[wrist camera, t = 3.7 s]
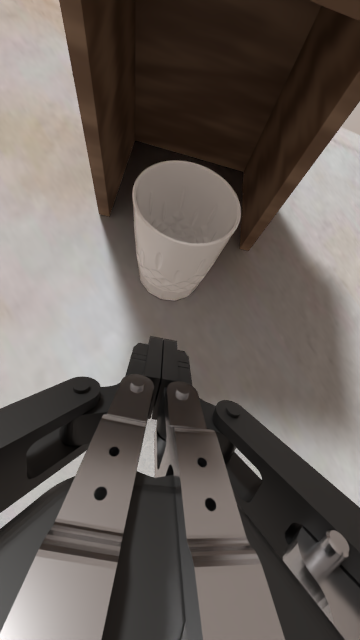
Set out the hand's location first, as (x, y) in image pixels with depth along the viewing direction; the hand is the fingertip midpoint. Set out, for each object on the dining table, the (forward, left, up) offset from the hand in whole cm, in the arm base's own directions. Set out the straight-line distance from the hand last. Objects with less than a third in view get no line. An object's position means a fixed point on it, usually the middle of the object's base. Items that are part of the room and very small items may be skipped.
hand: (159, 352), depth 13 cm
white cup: (+8, -8, -9) cm, 15 cm away
